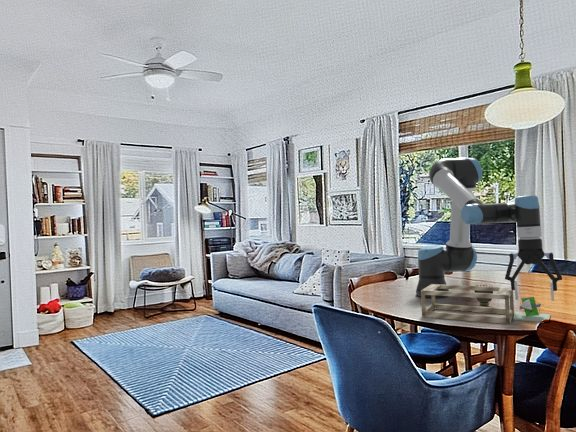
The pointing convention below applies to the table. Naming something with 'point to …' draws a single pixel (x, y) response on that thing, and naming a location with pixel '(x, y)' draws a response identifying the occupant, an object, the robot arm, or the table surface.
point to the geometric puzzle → (530, 306)
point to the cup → (483, 300)
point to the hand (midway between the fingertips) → (534, 299)
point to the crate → (501, 294)
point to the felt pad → (530, 317)
